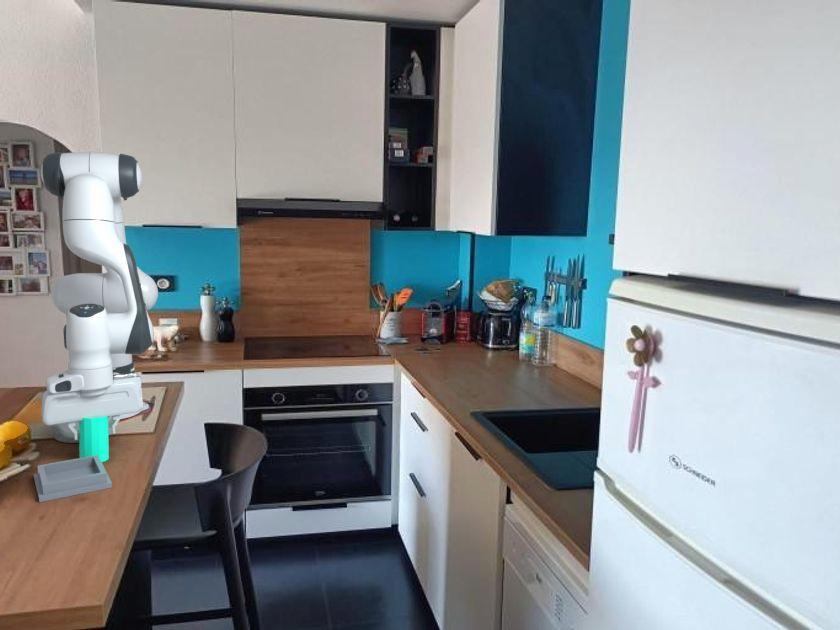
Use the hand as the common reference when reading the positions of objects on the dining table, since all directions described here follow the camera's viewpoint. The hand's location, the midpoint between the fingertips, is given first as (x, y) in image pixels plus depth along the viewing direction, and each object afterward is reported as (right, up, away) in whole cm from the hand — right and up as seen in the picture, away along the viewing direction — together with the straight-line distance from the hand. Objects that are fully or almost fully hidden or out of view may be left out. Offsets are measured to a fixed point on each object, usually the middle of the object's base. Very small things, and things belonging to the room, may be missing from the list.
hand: (94, 436), depth 147 cm
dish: (-11, -3, +16) cm, 20 cm away
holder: (+1, -8, -12) cm, 14 cm away
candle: (0, -6, +1) cm, 6 cm away
